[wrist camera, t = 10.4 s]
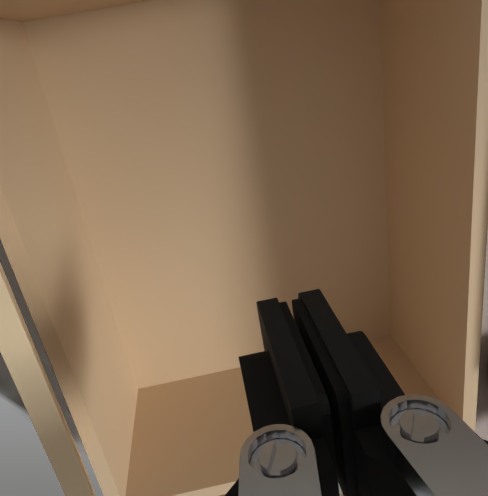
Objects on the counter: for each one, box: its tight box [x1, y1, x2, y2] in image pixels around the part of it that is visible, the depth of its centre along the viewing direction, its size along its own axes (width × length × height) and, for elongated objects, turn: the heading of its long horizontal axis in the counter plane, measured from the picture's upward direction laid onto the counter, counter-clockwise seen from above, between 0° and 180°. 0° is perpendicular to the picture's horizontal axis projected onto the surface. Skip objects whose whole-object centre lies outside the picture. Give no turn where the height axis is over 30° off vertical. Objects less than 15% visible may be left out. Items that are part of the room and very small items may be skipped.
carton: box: [0, 0, 488, 496], centre depth 20 cm, size 22×16×8 cm
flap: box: [0, 262, 96, 496], centre depth 12 cm, size 12×1×6 cm, turn 9°
